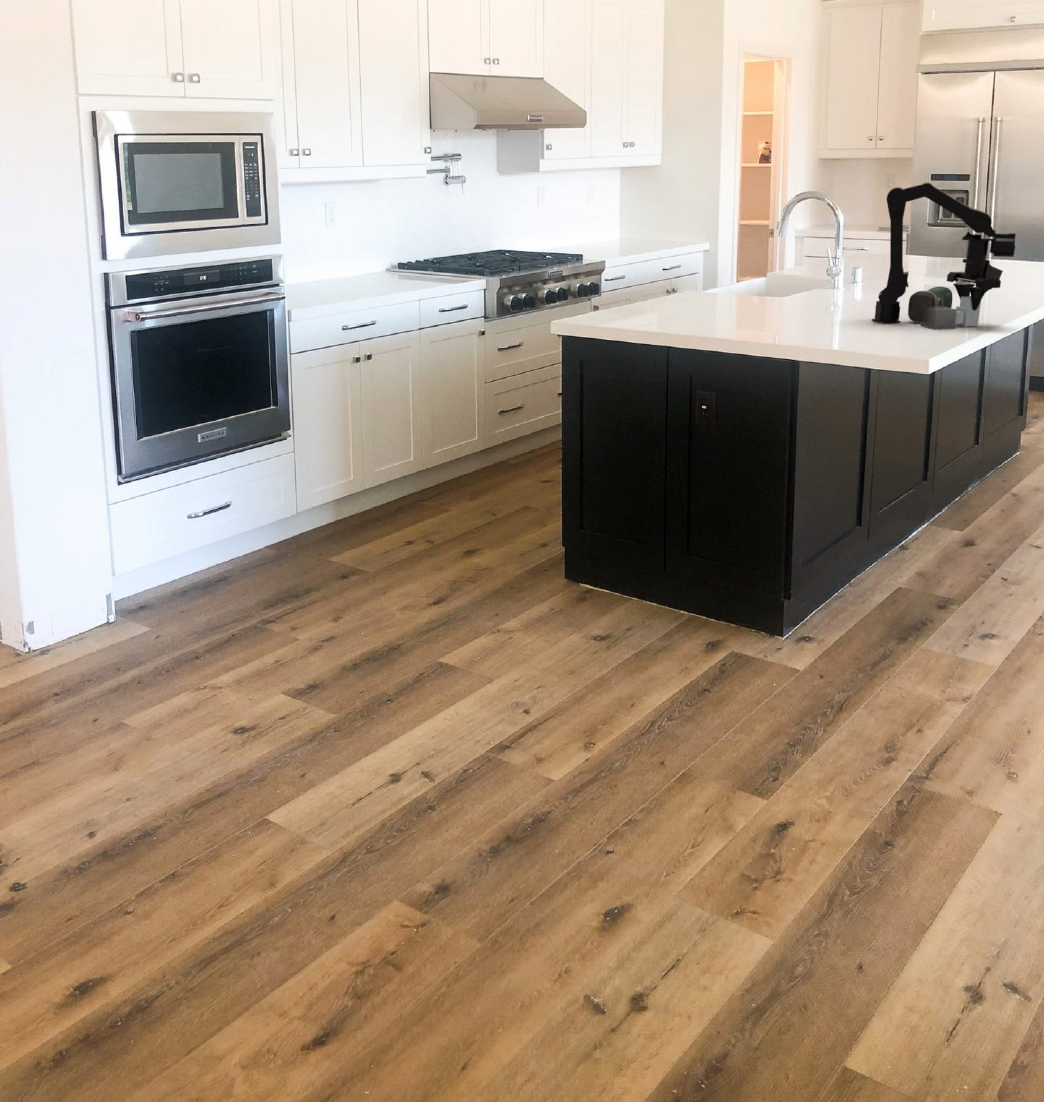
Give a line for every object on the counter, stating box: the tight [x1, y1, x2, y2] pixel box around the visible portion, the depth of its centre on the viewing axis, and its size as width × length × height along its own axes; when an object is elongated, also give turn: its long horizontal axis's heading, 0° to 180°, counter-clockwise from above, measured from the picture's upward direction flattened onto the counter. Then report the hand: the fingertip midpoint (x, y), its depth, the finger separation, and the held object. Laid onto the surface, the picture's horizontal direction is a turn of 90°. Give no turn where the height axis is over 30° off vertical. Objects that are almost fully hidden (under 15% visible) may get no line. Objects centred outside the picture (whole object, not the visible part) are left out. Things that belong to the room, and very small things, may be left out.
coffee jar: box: [907, 286, 953, 323], centre depth 374 cm, size 10×8×19 cm
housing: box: [920, 306, 957, 330], centre depth 361 cm, size 7×7×6 cm
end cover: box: [955, 295, 982, 327], centre depth 363 cm, size 11×6×8 cm, turn 106°
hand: (969, 309), depth 363 cm, fingers closed on end cover, 4 cm apart
